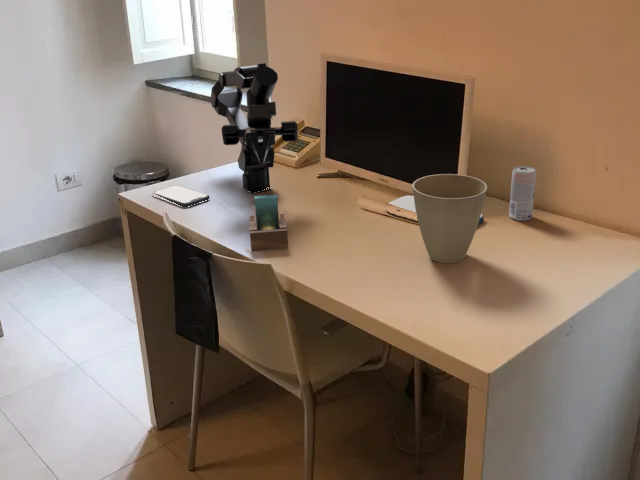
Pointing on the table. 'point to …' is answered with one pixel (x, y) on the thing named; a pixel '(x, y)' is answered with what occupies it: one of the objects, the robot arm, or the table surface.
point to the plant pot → (448, 213)
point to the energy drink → (522, 193)
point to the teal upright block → (267, 212)
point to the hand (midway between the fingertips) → (262, 162)
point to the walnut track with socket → (269, 236)
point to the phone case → (182, 195)
